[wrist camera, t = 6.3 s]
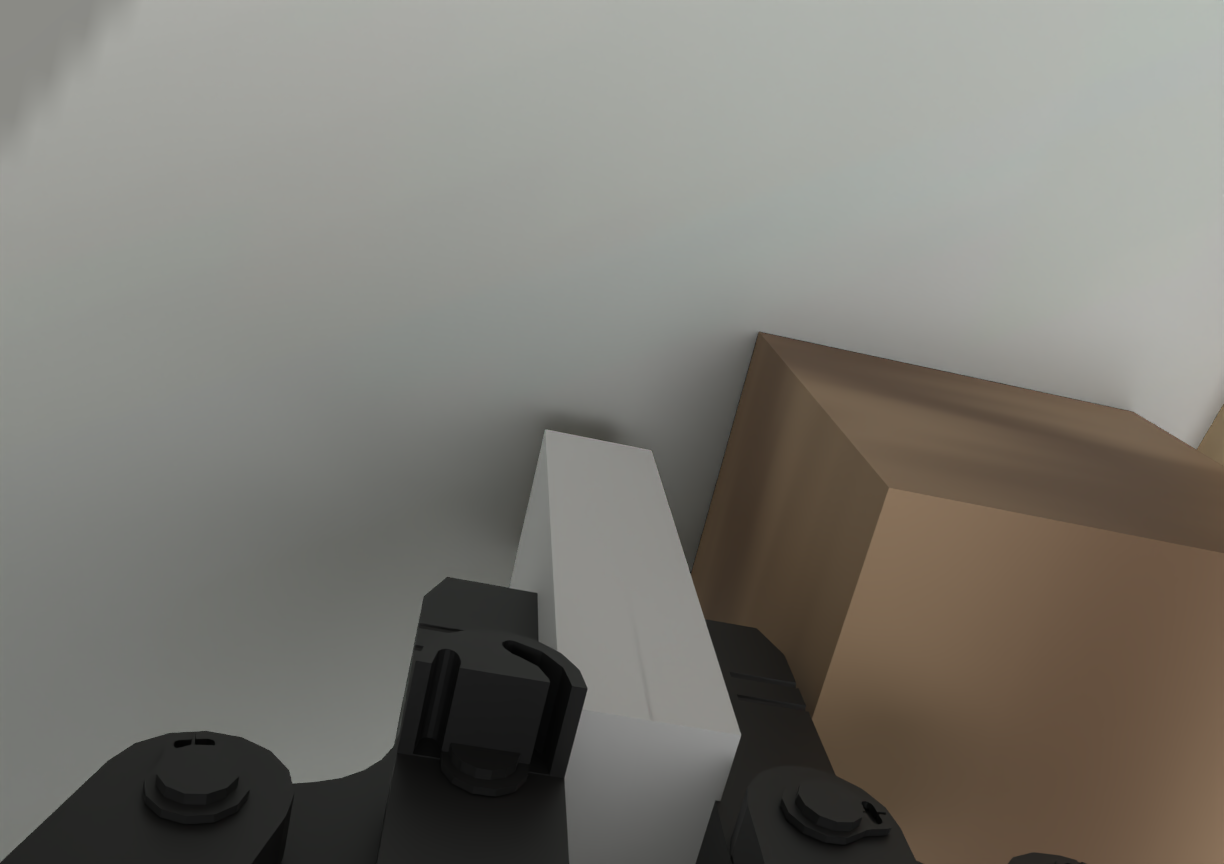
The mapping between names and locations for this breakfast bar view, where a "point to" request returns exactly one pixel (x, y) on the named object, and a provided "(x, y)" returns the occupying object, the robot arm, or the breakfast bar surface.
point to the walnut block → (983, 603)
